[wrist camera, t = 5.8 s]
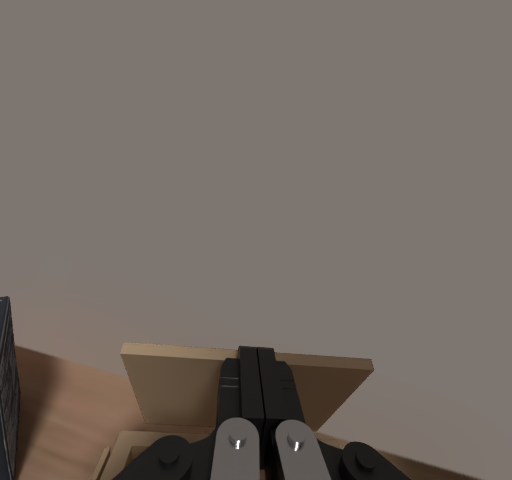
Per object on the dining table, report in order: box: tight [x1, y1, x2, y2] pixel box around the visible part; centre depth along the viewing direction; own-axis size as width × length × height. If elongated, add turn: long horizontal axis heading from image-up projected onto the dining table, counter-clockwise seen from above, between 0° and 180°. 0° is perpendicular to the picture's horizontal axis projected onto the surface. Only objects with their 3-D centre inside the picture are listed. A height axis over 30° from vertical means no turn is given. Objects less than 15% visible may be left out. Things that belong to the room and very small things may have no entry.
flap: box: [120, 342, 374, 431], centre depth 16 cm, size 11×1×9 cm, turn 94°
